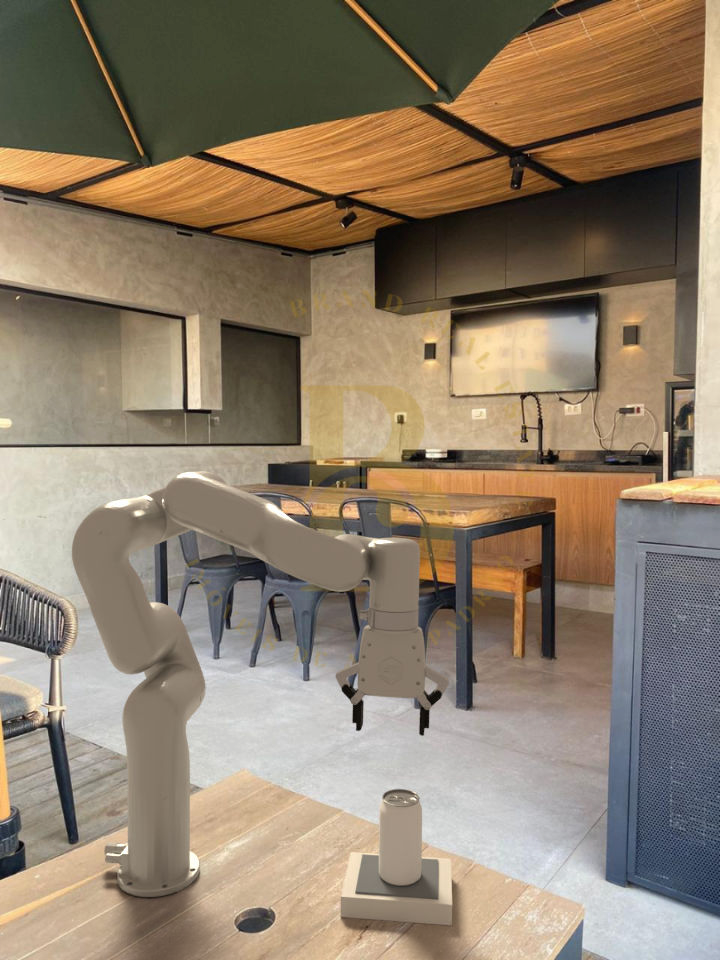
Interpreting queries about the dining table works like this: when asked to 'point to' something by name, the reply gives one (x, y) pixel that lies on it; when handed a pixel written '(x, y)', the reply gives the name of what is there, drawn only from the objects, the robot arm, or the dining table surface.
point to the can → (400, 837)
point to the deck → (397, 892)
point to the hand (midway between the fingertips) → (390, 730)
